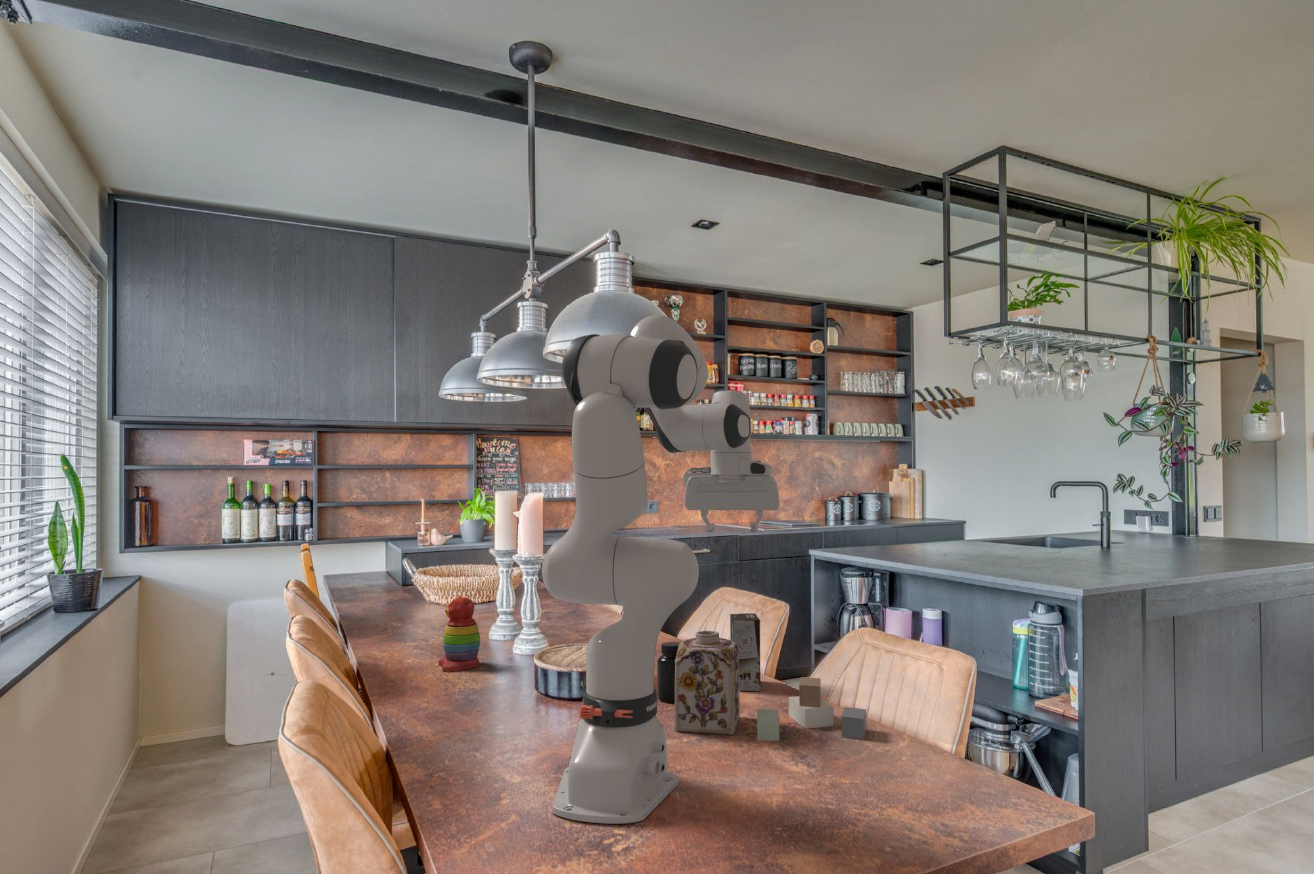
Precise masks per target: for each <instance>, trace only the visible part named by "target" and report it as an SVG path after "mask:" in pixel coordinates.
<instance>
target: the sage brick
mask: <svg viewBox="0 0 1314 874" xmlns="http://www.w3.org/2000/svg"><path fill="white" fill-rule="evenodd" d="M756 712H757V713H756V718H757V719H756V720H757V722H756V724H757V726H756V727H757V737H756V738H757V741H767V742H768V741H770V742H771V741H773V742H780V718H779V709H771V708H770V709H766V708H765V709H764V708H757V710H756Z"/></svg>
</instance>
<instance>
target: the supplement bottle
mask: <svg viewBox="0 0 1314 874" xmlns="http://www.w3.org/2000/svg"><path fill="white" fill-rule="evenodd" d="M680 643H681V642H679V641H678V642H677V641H667V642H666V641H665V642H663V643H661V645H660V646H661V650H660V653H661V655H660V656H658V658H657V660H656V661H657V662H656V668H657V670H656V672H657V673H656V674H657V677H656V678H657V698H658V701H660V702H663V703H666V704H667V703H668V704H675V659H676V653H677V651H678V647H679V644H680Z"/></svg>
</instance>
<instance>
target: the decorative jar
mask: <svg viewBox="0 0 1314 874" xmlns="http://www.w3.org/2000/svg"><path fill="white" fill-rule="evenodd" d="M679 643H680V644H679V647H678V651H677V653H676V659H675V703H674V730H675V731H676V732H686V733H699V734H716V735H728V736H729V735H730V736H732V735H734V734H735V732H736V729H737V724H738V722H739V718H740V708H741V707H740V704H741V703H740V700H741V699H740V691H739V656H738V655H739V654H738V653H739V651H738V648H737V645H736V643H735V642H732V641H730V639H727V638H723V637H720V632H719V631H717V630H701V631H697V632H696V633H695V637H693V638H688V639H684V640H683V639H682V641H680V642H679Z"/></svg>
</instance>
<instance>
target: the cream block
mask: <svg viewBox="0 0 1314 874" xmlns="http://www.w3.org/2000/svg"><path fill="white" fill-rule="evenodd" d="M834 710H835V707H834V705H832V704H831V703H829V702H827V701H826V700H824V699H822V698H821V704H820V707H811V706H800V704H799V696H789V697H788V716H789V717H790V718H792V720H794V721H795V722H796V723H798V724H799V725H800V726H802V727H803V728H804V729H813V728H814V729H815V728H826V727H834V726H835V725H834V724H835V714H834V713H835V711H834Z"/></svg>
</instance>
